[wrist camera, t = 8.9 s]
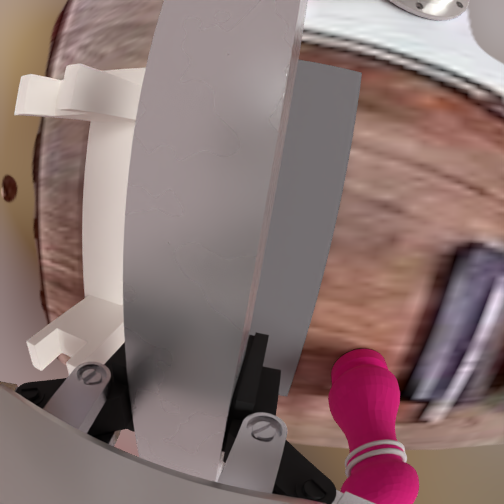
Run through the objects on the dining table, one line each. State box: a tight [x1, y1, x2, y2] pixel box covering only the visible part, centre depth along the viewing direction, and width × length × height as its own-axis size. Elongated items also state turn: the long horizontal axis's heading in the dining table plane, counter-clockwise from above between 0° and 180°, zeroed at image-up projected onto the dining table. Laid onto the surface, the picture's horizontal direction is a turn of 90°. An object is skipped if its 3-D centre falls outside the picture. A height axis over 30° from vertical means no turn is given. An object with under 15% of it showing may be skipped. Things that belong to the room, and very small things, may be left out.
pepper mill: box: [328, 349, 419, 504], centre depth 21 cm, size 7×7×20 cm
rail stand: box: [14, 63, 146, 375], centre depth 23 cm, size 30×8×12 cm, turn 170°
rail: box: [123, 0, 308, 482], centre depth 9 cm, size 30×3×2 cm, turn 170°
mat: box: [248, 60, 362, 396], centre depth 28 cm, size 34×12×1 cm, turn 170°
